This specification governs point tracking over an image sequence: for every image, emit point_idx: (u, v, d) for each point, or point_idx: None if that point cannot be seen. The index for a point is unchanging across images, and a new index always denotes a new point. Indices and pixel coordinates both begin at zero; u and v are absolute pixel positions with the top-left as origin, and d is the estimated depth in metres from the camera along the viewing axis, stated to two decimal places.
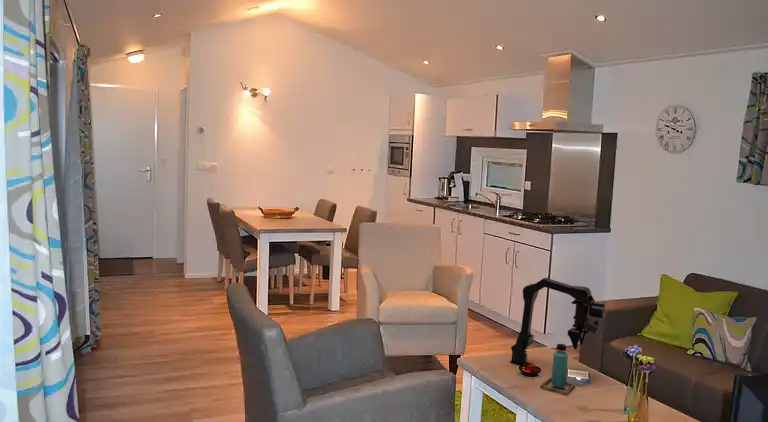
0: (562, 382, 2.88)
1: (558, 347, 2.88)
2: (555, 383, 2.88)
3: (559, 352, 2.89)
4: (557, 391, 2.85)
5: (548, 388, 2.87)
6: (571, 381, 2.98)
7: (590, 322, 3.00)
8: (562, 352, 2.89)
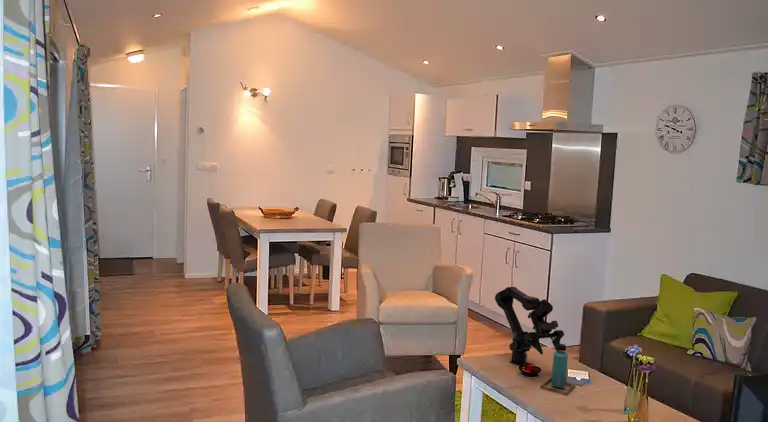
0: (562, 382, 2.88)
1: (558, 347, 2.88)
2: (555, 383, 2.88)
3: (559, 352, 2.89)
4: (557, 391, 2.85)
5: (548, 388, 2.87)
6: (571, 381, 2.98)
7: None
8: (562, 352, 2.89)
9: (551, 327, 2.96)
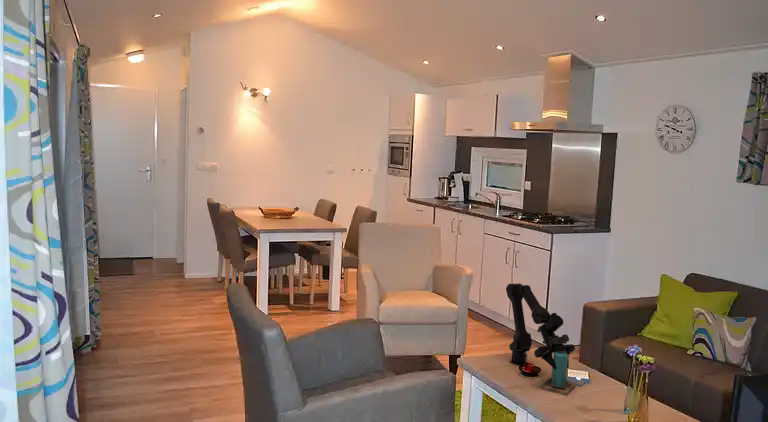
0: (562, 382, 2.88)
1: (558, 347, 2.88)
2: (555, 383, 2.88)
3: (559, 352, 2.89)
4: (557, 391, 2.85)
5: (548, 388, 2.87)
6: (571, 381, 2.98)
7: None
8: (562, 352, 2.89)
9: (562, 341, 2.88)
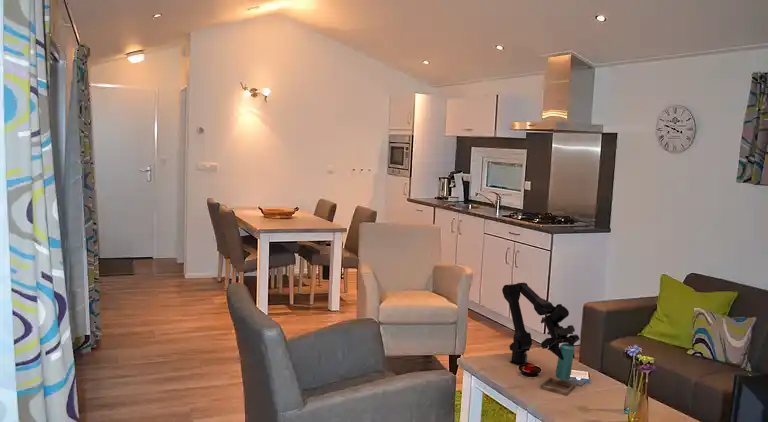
0: (567, 375, 2.89)
1: (566, 339, 2.90)
2: (560, 375, 2.90)
3: (566, 345, 2.91)
4: (557, 391, 2.85)
5: (548, 388, 2.87)
6: (571, 381, 2.98)
7: None
8: (569, 345, 2.91)
9: (569, 332, 2.90)
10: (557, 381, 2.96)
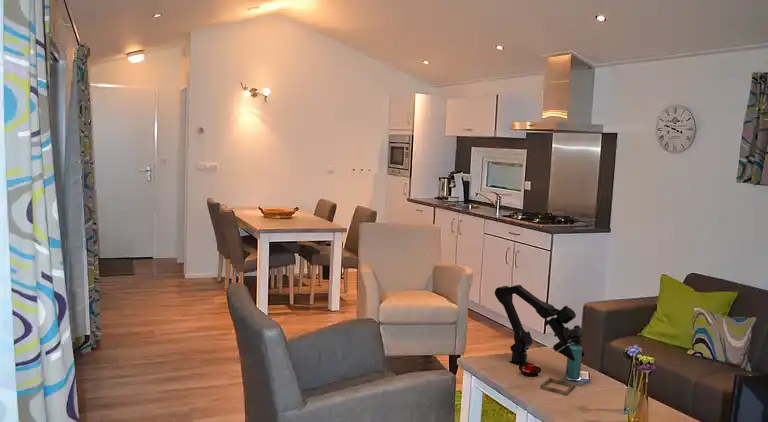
0: (579, 373, 2.98)
1: (574, 341, 2.96)
2: (573, 376, 2.97)
3: (574, 345, 2.98)
4: (557, 391, 2.85)
5: (548, 388, 2.87)
6: (571, 381, 2.98)
7: (569, 329, 3.01)
8: (576, 345, 2.98)
9: (579, 332, 2.98)
10: (557, 381, 2.96)
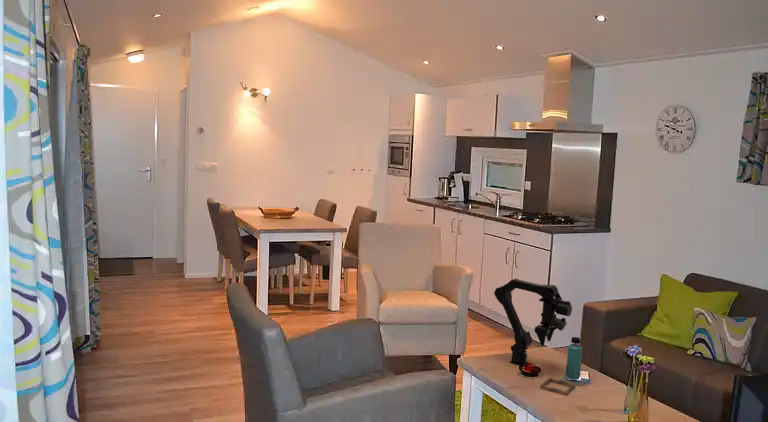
0: (579, 373, 2.98)
1: (574, 341, 2.96)
2: (573, 376, 2.97)
3: (574, 345, 2.98)
4: (557, 391, 2.85)
5: (548, 388, 2.87)
6: (571, 381, 2.98)
7: (557, 319, 3.07)
8: (576, 345, 2.98)
9: (563, 328, 3.06)
10: (557, 381, 2.96)
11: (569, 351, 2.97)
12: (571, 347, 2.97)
